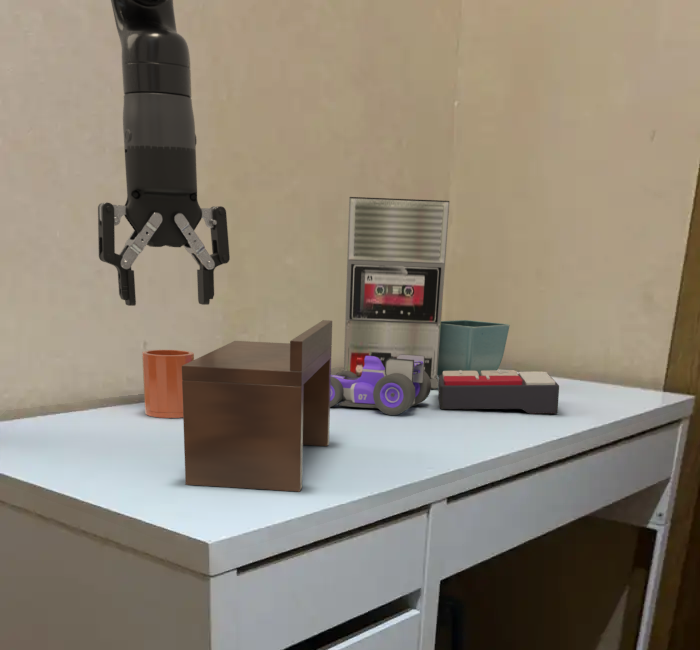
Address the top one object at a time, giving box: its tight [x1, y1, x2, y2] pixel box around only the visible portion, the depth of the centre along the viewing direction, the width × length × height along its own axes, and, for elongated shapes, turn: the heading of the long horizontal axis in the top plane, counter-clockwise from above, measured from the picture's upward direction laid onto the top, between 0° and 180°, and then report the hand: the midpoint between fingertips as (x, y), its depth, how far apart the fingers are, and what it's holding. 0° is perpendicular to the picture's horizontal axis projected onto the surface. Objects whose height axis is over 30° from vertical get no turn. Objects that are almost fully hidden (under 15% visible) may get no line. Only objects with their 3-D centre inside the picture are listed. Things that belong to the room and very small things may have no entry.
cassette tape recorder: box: [343, 196, 450, 390], centre depth 133 cm, size 14×6×25 cm, turn 90°
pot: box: [141, 349, 195, 419], centre depth 110 cm, size 6×6×7 cm
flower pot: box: [437, 319, 511, 378], centre depth 139 cm, size 9×9×9 cm
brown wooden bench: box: [182, 319, 333, 492], centre depth 87 cm, size 10×20×12 cm, turn 174°
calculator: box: [437, 369, 560, 415], centre depth 124 cm, size 11×4×15 cm
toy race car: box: [330, 354, 432, 416], centre depth 119 cm, size 10×15×6 cm, turn 70°
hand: (167, 304), depth 106 cm, fingers open, 8 cm apart
